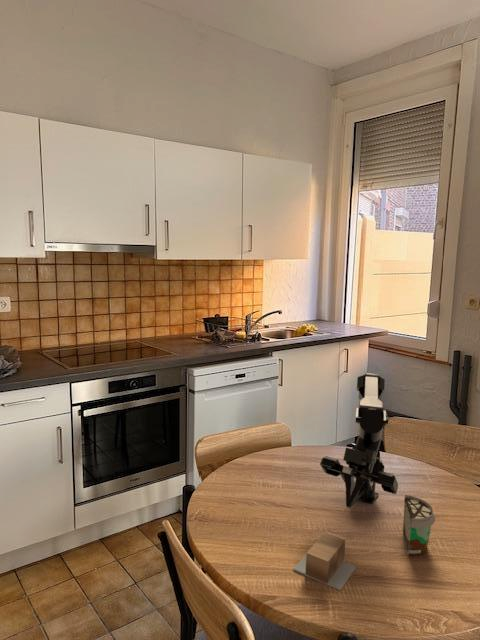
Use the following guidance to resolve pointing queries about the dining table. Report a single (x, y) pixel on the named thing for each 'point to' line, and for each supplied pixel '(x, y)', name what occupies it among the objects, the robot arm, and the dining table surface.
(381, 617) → the dining table surface
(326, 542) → the walnut block
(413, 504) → the food container
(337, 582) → the mat
